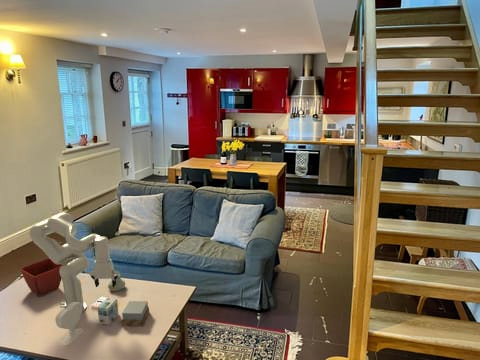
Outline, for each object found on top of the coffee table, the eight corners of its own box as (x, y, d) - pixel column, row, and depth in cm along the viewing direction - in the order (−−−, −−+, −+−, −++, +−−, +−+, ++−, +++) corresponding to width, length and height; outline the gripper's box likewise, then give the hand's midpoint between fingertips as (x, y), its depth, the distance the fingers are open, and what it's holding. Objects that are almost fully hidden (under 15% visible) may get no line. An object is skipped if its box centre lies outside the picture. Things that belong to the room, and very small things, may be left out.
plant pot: (52, 279, 254) (49, 257, 250) (66, 287, 244) (63, 265, 239) (23, 291, 239) (19, 268, 235) (37, 300, 229) (33, 277, 224)
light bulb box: (109, 325, 205) (107, 308, 202) (98, 323, 206) (96, 307, 203) (119, 314, 215) (117, 298, 212) (108, 312, 216) (107, 296, 214)
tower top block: (122, 319, 204) (122, 313, 203) (129, 306, 215) (129, 301, 214) (141, 319, 203) (141, 313, 202) (147, 307, 215) (147, 301, 214)
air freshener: (106, 291, 239) (104, 277, 237) (113, 284, 247) (111, 271, 245) (121, 293, 237) (119, 279, 235) (127, 286, 245) (126, 273, 242)
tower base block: (122, 327, 204) (121, 320, 203) (129, 313, 217) (129, 306, 216) (143, 327, 204) (142, 320, 203) (149, 313, 216) (148, 306, 215)
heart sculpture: (65, 346, 188) (61, 316, 183) (57, 344, 189) (53, 315, 185) (86, 328, 202) (82, 300, 198) (78, 326, 204) (75, 298, 199)
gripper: (84, 261, 197) (88, 289, 202) (115, 261, 197) (118, 289, 201) (90, 255, 205) (93, 282, 209) (120, 255, 204) (123, 282, 209)
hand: (105, 285), depth 205 cm, fingers open, 9 cm apart
